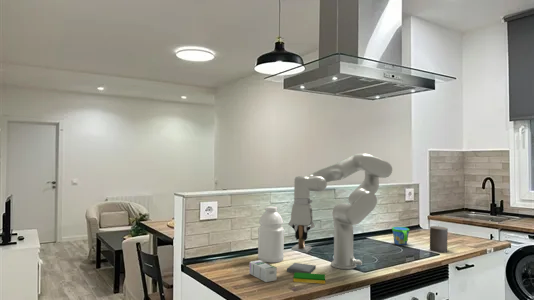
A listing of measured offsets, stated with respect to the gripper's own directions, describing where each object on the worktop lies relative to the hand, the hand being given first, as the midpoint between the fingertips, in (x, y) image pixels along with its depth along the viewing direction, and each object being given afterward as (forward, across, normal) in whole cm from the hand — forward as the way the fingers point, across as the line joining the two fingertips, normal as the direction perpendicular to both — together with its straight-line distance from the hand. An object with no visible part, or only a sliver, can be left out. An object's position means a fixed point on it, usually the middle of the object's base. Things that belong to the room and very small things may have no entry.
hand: (301, 239), depth 176 cm
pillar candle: (+14, -62, -73) cm, 97 cm away
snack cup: (+14, -40, -80) cm, 91 cm away
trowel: (+5, 0, -1) cm, 5 cm away
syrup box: (+12, +6, +21) cm, 25 cm away
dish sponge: (+16, -8, +12) cm, 21 cm away
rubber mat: (+15, 0, 0) cm, 15 cm away
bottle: (+15, +21, -11) cm, 28 cm away
